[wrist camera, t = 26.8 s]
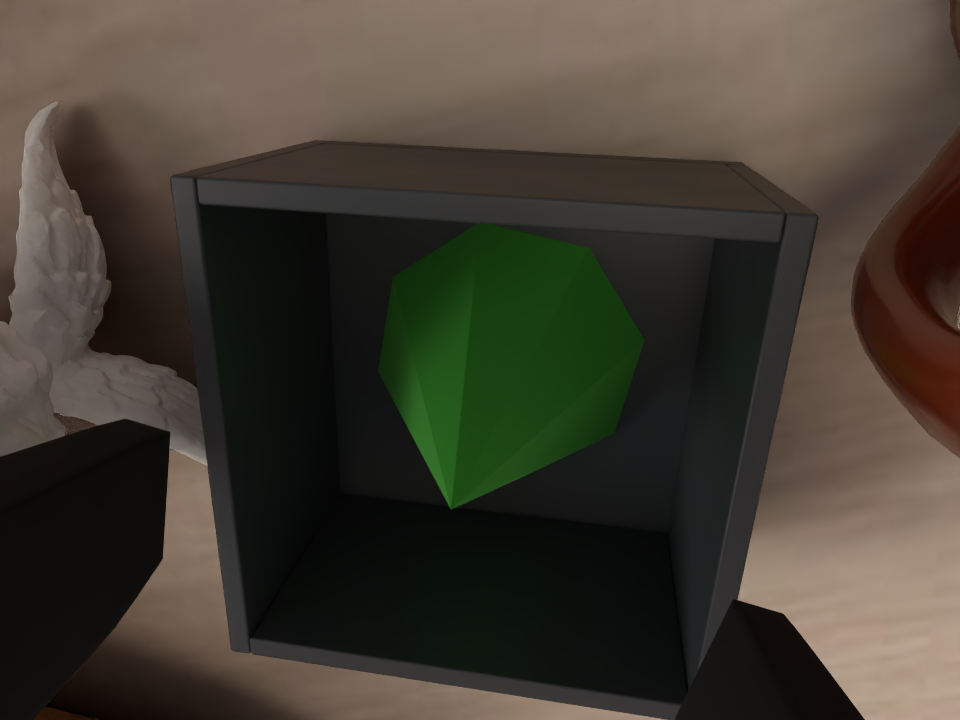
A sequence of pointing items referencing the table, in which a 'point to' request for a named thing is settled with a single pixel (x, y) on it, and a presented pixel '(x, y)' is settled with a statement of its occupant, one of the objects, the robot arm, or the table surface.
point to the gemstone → (505, 356)
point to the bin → (521, 503)
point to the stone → (59, 715)
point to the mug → (918, 293)
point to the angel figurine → (73, 324)
